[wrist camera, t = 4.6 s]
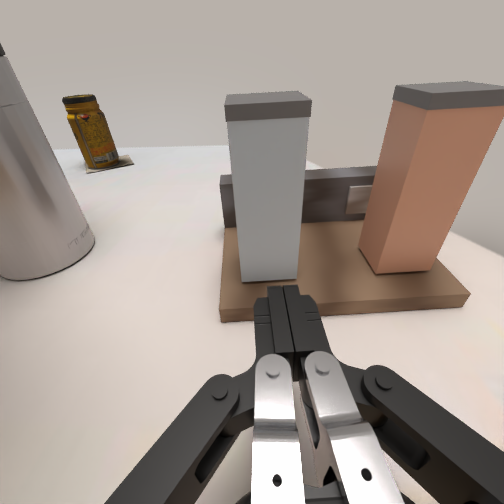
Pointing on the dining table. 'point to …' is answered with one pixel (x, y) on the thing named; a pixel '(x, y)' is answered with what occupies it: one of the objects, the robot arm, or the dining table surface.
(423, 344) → the dining table surface
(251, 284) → the base
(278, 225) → the grey tall block
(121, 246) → the dining table surface
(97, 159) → the condiment
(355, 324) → the dining table surface
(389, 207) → the orange-brown tall block
